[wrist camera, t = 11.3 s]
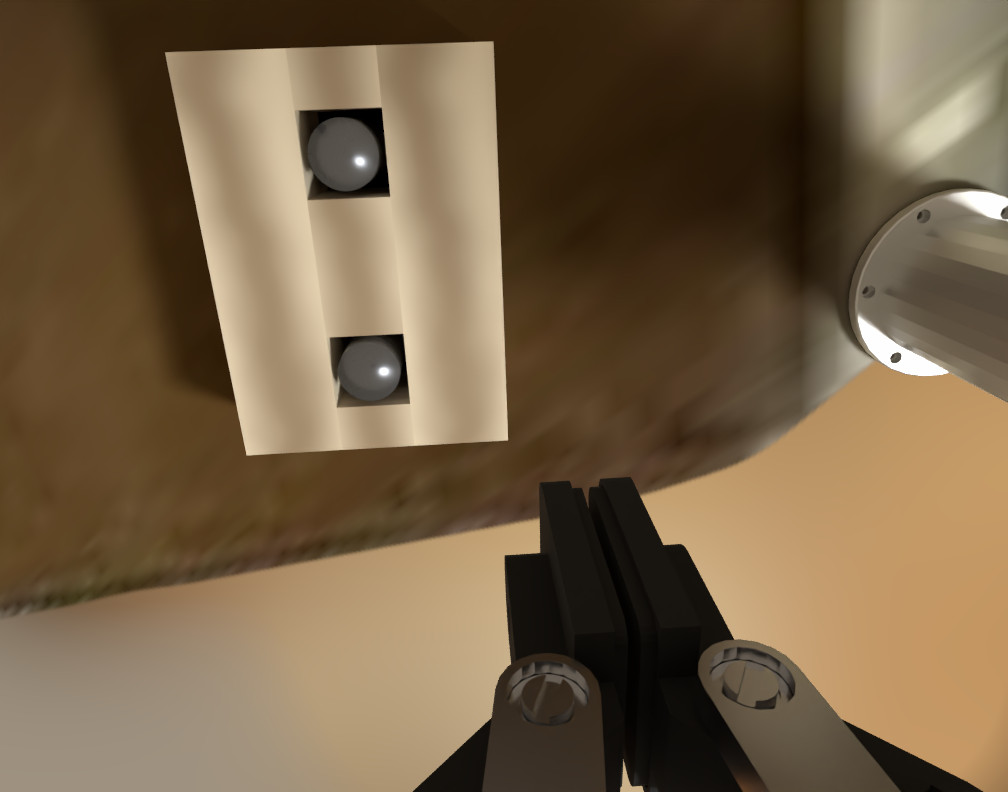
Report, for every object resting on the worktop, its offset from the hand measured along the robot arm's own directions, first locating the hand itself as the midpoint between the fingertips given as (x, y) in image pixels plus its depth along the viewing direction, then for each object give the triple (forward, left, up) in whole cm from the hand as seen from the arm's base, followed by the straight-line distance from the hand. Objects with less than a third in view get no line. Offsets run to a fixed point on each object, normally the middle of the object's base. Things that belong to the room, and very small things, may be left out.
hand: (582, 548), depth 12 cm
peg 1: (+8, -6, -32) cm, 34 cm away
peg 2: (+8, +6, -32) cm, 34 cm away
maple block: (+8, 0, -33) cm, 34 cm away
